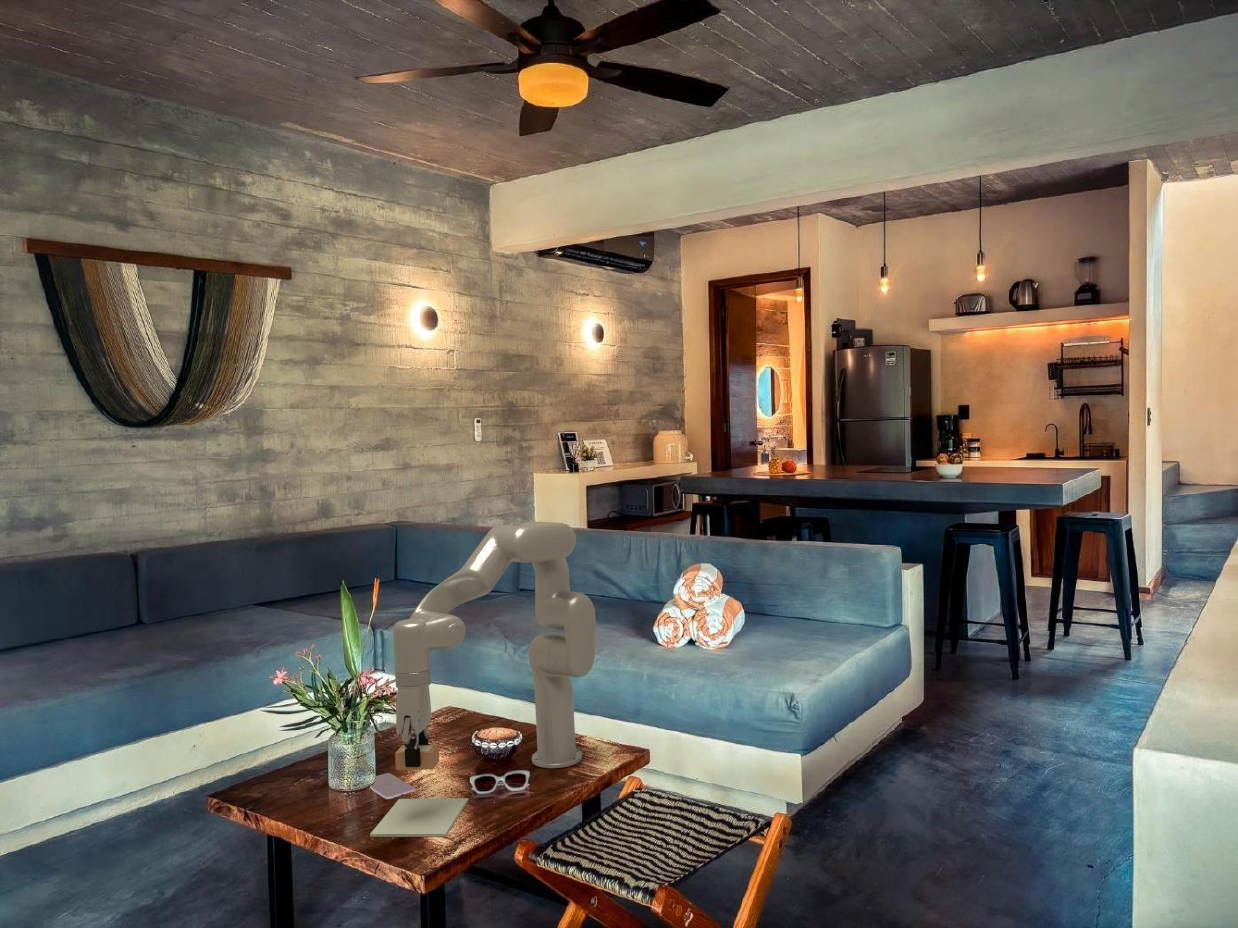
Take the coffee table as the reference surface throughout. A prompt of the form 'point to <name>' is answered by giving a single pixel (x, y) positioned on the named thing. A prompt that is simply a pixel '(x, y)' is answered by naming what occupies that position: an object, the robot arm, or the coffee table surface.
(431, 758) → the block
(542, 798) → the coffee table surface
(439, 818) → the play mat
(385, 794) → the mobile phone
